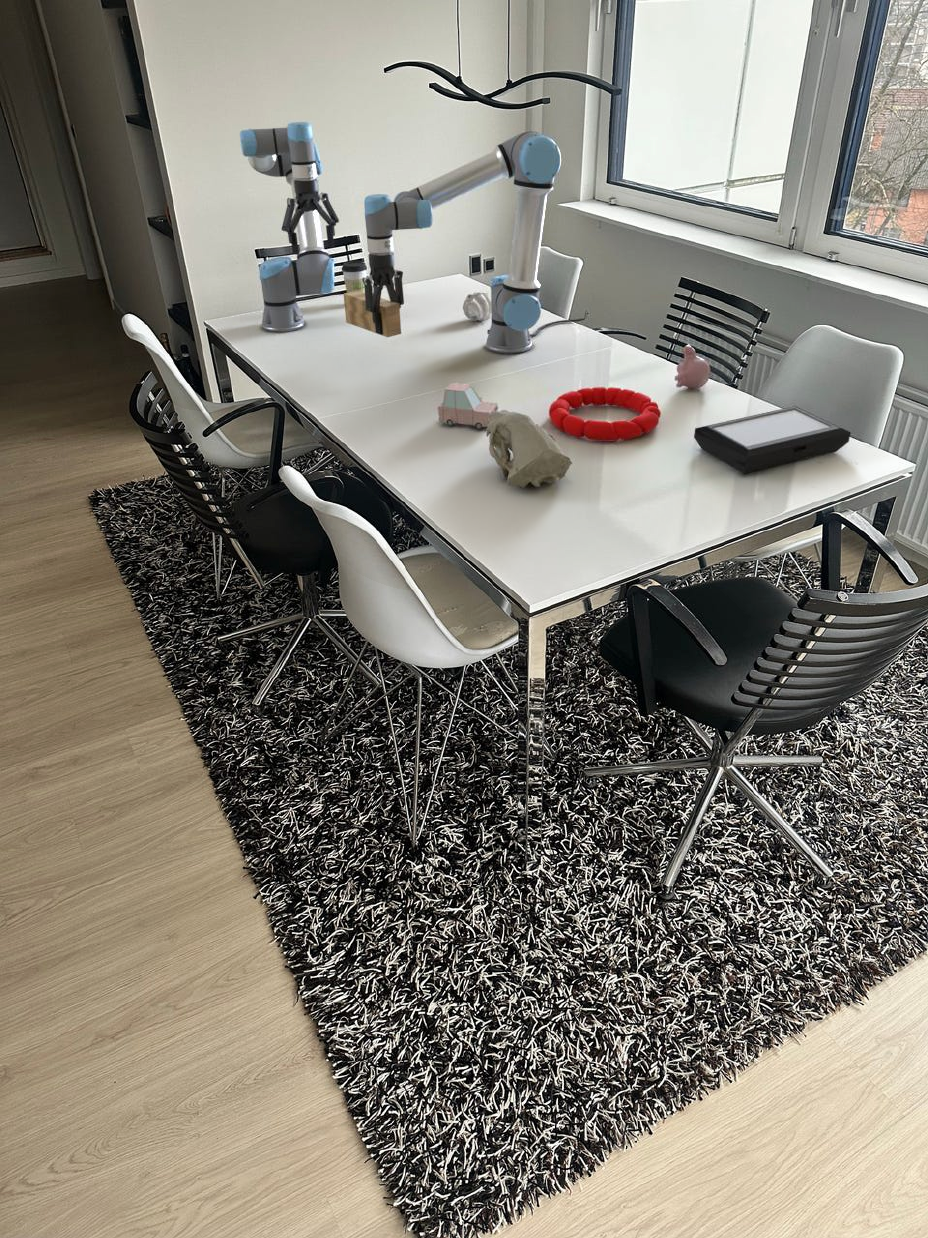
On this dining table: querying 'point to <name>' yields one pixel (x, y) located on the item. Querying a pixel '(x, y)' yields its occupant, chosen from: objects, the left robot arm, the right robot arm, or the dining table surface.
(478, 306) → the seashell
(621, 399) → the decorative ring
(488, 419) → the toy car
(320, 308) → the dining table surface
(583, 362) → the dining table surface
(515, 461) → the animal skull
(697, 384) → the figurine
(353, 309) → the bar
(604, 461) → the dining table surface
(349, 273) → the coffee cup
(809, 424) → the electronic device
